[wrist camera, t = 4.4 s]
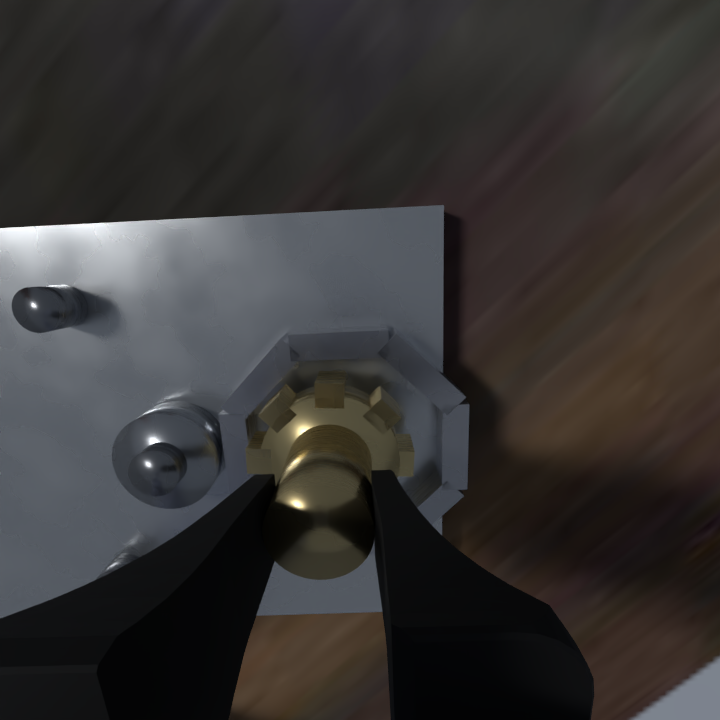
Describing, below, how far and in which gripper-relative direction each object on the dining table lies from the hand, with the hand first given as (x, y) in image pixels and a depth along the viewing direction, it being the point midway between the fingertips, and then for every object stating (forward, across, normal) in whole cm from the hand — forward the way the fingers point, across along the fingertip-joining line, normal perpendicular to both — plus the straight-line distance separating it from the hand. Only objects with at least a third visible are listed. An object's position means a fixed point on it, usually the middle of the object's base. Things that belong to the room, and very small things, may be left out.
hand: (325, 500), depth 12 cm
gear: (+3, 0, 0) cm, 3 cm away
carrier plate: (+5, +6, 0) cm, 8 cm away
